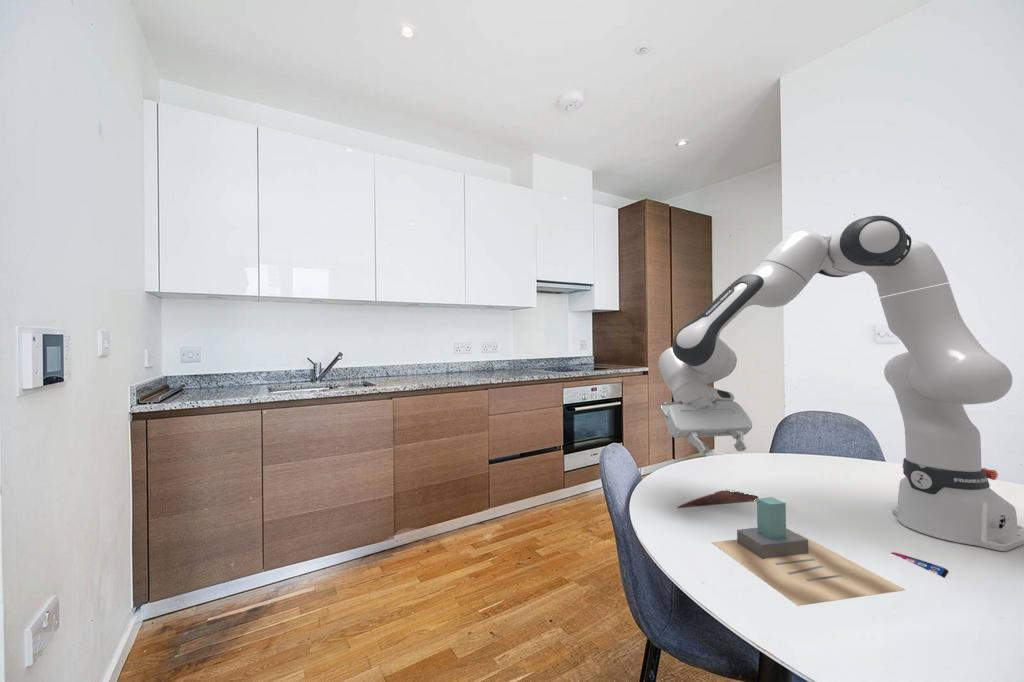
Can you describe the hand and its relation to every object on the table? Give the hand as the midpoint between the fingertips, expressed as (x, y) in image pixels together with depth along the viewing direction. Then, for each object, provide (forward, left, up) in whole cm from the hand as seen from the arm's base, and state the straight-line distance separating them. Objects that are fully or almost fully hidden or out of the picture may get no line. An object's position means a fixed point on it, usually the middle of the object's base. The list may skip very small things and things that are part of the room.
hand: (724, 451), depth 87 cm
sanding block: (0, +12, -15) cm, 20 cm away
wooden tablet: (-7, -10, -18) cm, 22 cm away
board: (0, +18, -17) cm, 25 cm away
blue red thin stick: (-19, +22, -17) cm, 34 cm away
